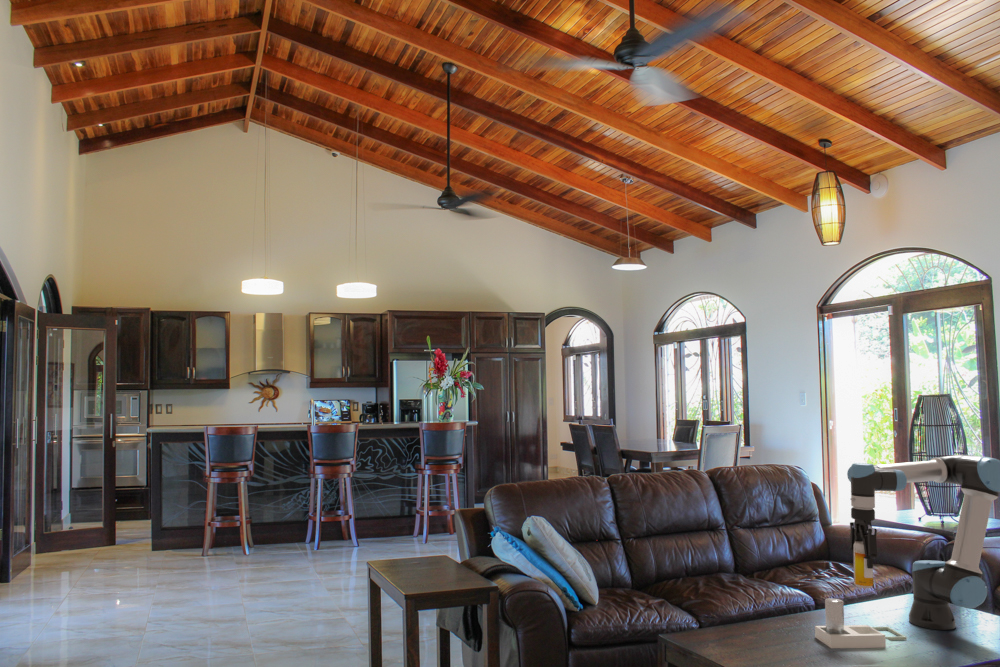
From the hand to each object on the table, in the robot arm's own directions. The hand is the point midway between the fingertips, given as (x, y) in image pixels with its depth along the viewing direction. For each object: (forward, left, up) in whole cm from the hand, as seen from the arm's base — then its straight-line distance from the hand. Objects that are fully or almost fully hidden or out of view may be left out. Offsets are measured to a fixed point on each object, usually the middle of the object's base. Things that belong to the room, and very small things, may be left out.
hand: (863, 575), depth 262 cm
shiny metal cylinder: (+12, +2, -22) cm, 25 cm away
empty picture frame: (-10, -7, -23) cm, 26 cm away
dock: (+6, +2, -23) cm, 24 cm away
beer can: (0, 0, -4) cm, 4 cm away
